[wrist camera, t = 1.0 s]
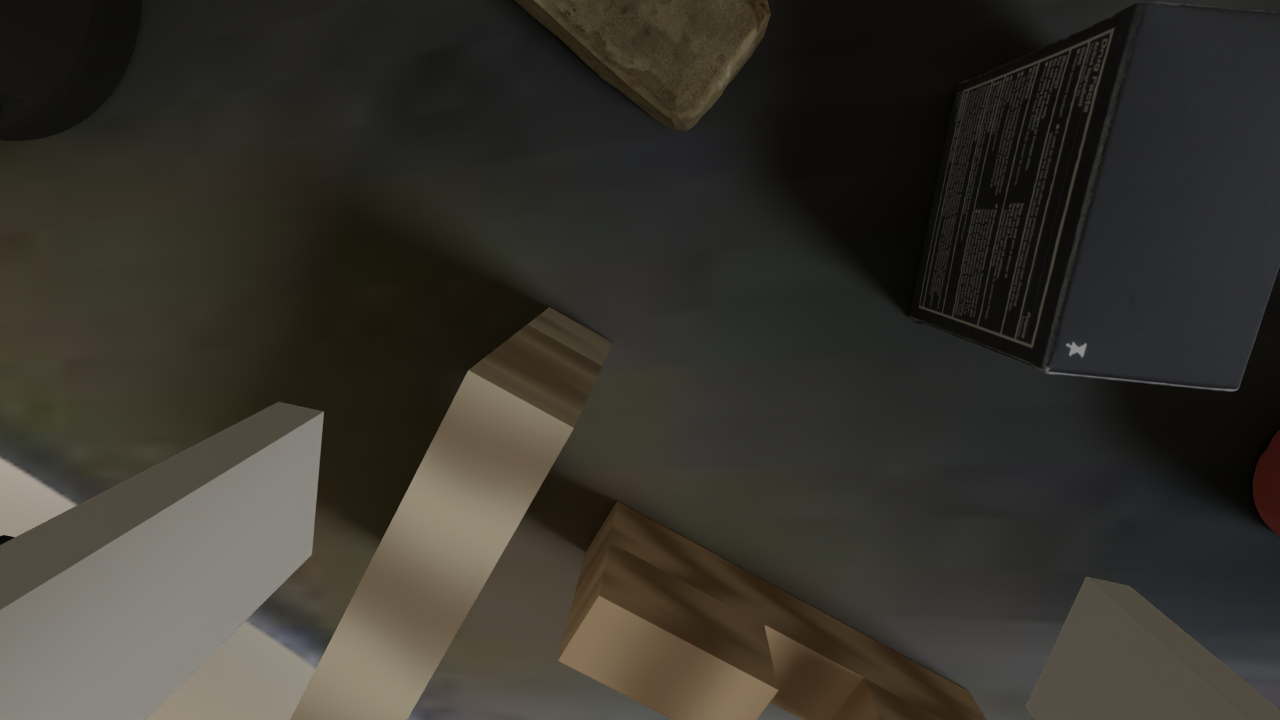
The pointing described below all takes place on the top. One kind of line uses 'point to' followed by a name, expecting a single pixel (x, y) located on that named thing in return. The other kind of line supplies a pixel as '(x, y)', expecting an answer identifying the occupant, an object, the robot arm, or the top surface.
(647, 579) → the oak board
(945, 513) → the top surface
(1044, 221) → the small box
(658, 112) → the stone block
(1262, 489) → the flower pot
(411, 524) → the beige wooden slab
